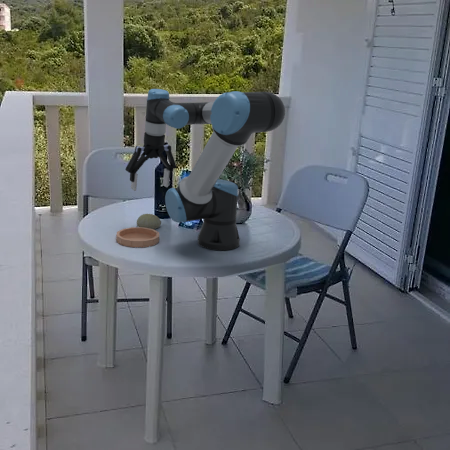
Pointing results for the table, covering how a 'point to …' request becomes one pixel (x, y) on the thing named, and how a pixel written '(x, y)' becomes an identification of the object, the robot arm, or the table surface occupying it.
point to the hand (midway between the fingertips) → (149, 187)
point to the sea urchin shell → (148, 221)
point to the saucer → (137, 237)
